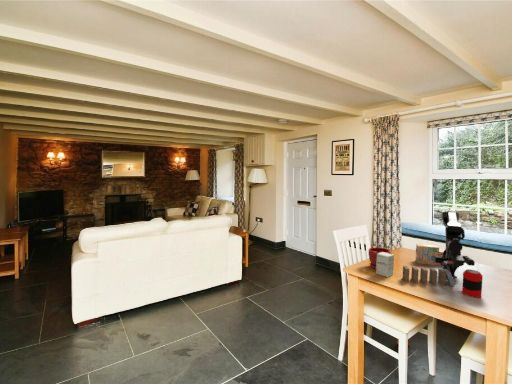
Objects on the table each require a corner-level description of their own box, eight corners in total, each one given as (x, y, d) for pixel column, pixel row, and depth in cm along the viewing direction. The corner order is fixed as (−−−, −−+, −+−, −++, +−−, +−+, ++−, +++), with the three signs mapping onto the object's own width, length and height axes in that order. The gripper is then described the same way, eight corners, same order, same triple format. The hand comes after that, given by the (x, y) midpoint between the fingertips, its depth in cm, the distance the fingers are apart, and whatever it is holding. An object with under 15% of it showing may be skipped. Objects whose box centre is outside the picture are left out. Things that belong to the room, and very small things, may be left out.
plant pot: (383, 264, 180) (384, 246, 179) (394, 271, 167) (395, 252, 166) (364, 264, 179) (365, 246, 179) (373, 271, 166) (374, 252, 166)
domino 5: (438, 281, 151) (438, 268, 151) (442, 281, 151) (442, 268, 150) (441, 284, 146) (442, 271, 146) (446, 285, 146) (446, 271, 145)
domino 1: (402, 278, 156) (403, 265, 155) (406, 278, 155) (406, 265, 155) (404, 281, 151) (405, 268, 150) (408, 281, 150) (409, 268, 150)
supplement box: (375, 273, 162) (376, 253, 161) (381, 271, 166) (382, 251, 166) (387, 277, 156) (388, 256, 155) (393, 274, 161) (394, 254, 160)
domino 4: (429, 280, 152) (429, 267, 152) (433, 280, 152) (433, 268, 151) (432, 284, 147) (433, 270, 147) (436, 284, 147) (437, 271, 146)
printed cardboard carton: (451, 264, 181) (452, 246, 180) (454, 267, 175) (455, 248, 174) (415, 260, 188) (416, 243, 188) (417, 263, 183) (418, 245, 182)
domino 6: (447, 282, 150) (442, 269, 150) (451, 281, 149) (446, 268, 150) (451, 285, 145) (446, 273, 145) (455, 284, 145) (450, 271, 145)
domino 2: (411, 278, 154) (411, 266, 154) (415, 279, 154) (415, 266, 153) (414, 282, 150) (414, 269, 149) (417, 282, 149) (418, 269, 149)
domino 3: (420, 279, 153) (420, 267, 153) (423, 280, 153) (424, 267, 152) (423, 283, 148) (423, 270, 148) (427, 283, 148) (427, 270, 148)
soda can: (472, 291, 139) (473, 268, 138) (485, 297, 131) (486, 274, 130) (458, 291, 138) (459, 268, 138) (470, 298, 131) (471, 274, 130)
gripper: (440, 250, 140) (438, 279, 141) (481, 253, 136) (479, 282, 137) (431, 245, 151) (430, 271, 152) (469, 247, 147) (468, 275, 148)
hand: (451, 275), depth 147 cm, fingers closed
